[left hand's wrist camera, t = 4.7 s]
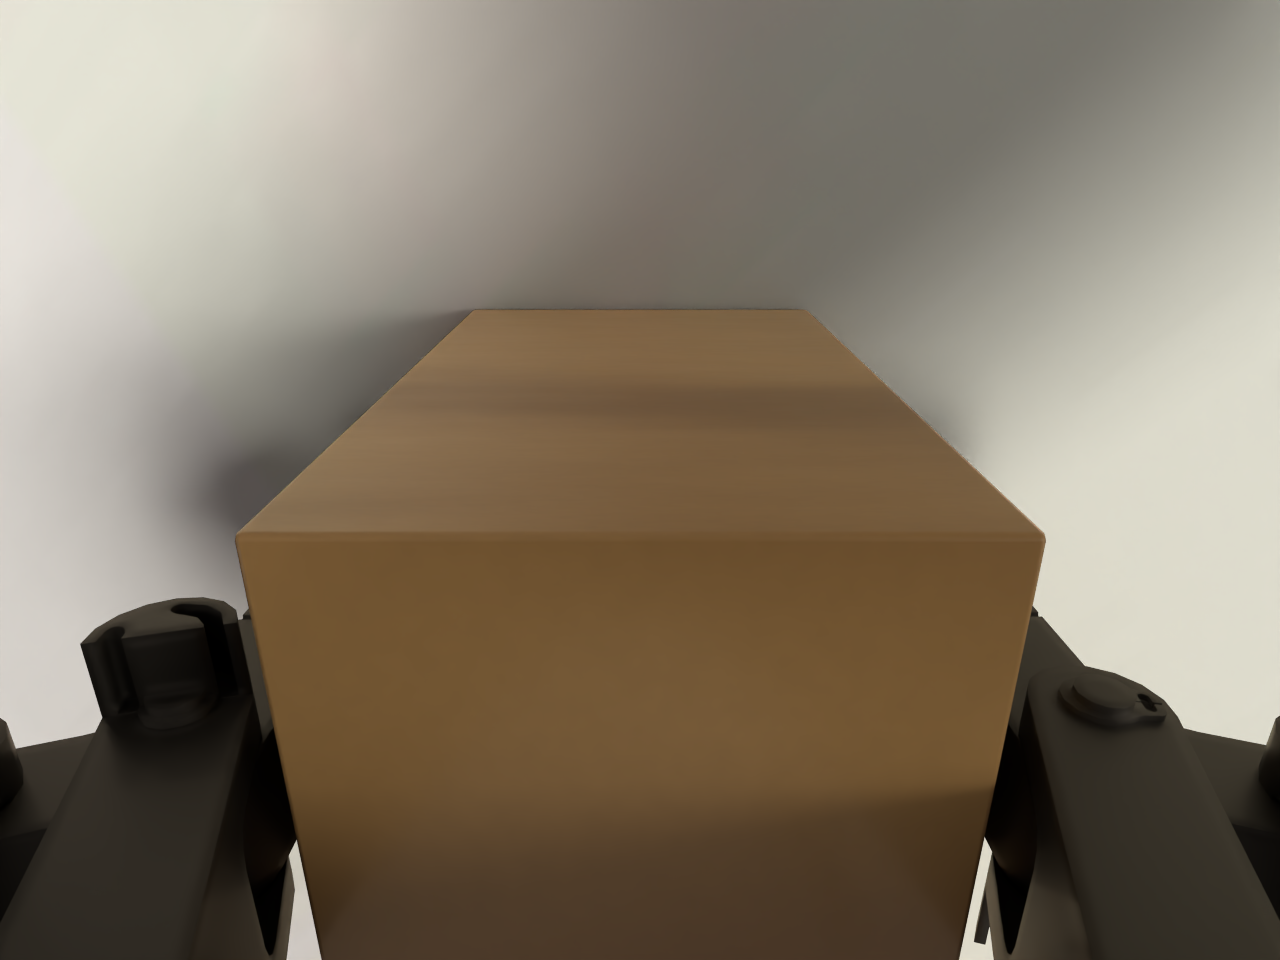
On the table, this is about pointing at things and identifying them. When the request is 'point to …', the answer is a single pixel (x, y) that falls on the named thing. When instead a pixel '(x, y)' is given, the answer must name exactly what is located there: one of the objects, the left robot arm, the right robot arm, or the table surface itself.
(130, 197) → the table surface
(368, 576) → the bar
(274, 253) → the table surface
